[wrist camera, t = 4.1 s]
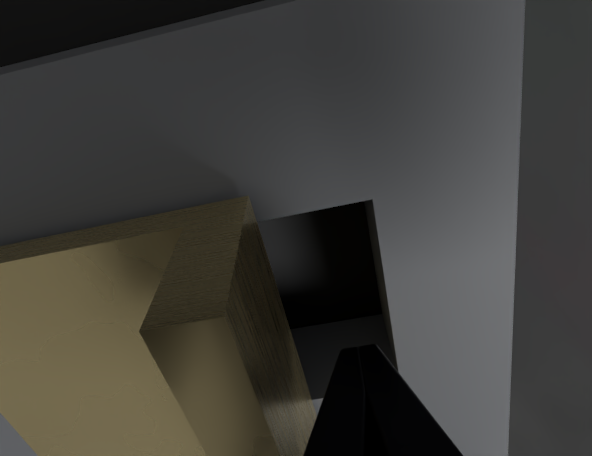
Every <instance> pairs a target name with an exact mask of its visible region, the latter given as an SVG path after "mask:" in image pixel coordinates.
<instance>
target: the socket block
mask: <svg viewBox="0 0 592 456" xmlns="http://www.w3.org/2000/svg"><path fill="white" fill-rule="evenodd" d="M524 20H525V0H264V1H260V2H256V3H252V4H248V5H244V6H240V7H236V8H232V9H228V10H224V11H221V12H217V13H213V14H209V15H205V16H201V17H197V18H193V19H189V20H185V21H181V22H177V23H173V24H169V25H165V26H161V27H157V28H153V29H150V30H146V31H142V32H138V33H134V34H130V35H126V36H122V37H118V38H114V39H110V40H106V41H102V42H98V43H94V44H90V45H86V46H82V47H79V48H75V49H71V50H67V51H63V52H59V53H55V54H51V55H47V56H43V57H39V58H35V59H31V60H27V61H23V62H19V63H15V64H11V65H8V66H4V67H0V246H4V245H9V244H14V243H19V242H24V241H28V240H33V239H38V238H43V237H48V236H53V235H58V234H63V233H68V232H72V231H77V230H82V229H87V228H92V227H97V226H102V225H107V224H111V223H116V222H121V221H126V220H131V219H136V218H141V217H146V216H151V215H155V214H160V213H165V212H170V211H175V210H180V209H185V208H190V207H195V206H199V205H204V204H209V203H214V202H219V201H224V200H229V199H234V198H238V197H243V196H248V195H249V198H250V202H251V205H252V208H253V211H254V215H255V218H256V221H257V222H260V221H265V220H270V219H275V218H280V217H285V216H290V215H295V214H301V213H306V212H311V211H316V210H321V209H326V208H331V207H336V206H341V205H346V204H351V203H356V202H361V201H364V205H365V211H366V217H367V223H368V230H369V236H370V242H371V248H372V254H373V260H374V267H375V273H376V279H377V285H378V291H379V298H380V304H381V310H382V314H379V315H373V316H367V317H361V318H355V319H349V320H343V321H337V322H331V323H325V324H319V325H313V326H307V327H302V328H296V329H290V331H291V334H292V337H293V340H294V344H295V347H296V350H297V353H298V357H299V360H300V363H301V366H302V369H303V373H304V376H305V379H306V382H307V386H308V389H309V392H310V395H311V399H312V402H313V405H314V408H315V411H316V415H318V412H319V409H320V406H321V403H322V400H323V398H324V395H325V392H326V389H327V386H328V383H329V381H330V378H331V375H332V372H333V369H334V366H335V364H336V361H337V358H338V355H339V352H340V351H341V350H342V349H344V348H350V347H359V346H363V345H369V344H376V345H377V346H378V347H379V348H380V349H381V351H382V352H383V353H384V354H385V356H386V357H387V358H388V360H389V361H390V362H391V363H392V365H393V366H394V367H395V368H396V370H397V371H398V372H399V374H400V375H401V376H402V377H403V379H404V380H405V381H406V383H407V384H408V385H409V386H410V388H411V389H412V390H413V392H414V393H415V394H416V395H417V397H418V398H419V399H420V401H421V402H422V403H423V404H424V406H425V407H426V408H427V410H428V411H429V412H430V413H431V415H432V416H433V417H434V418H435V420H436V421H437V422H438V424H439V425H440V426H441V427H442V429H443V430H444V431H445V433H446V434H447V435H448V436H449V438H450V439H451V440H452V442H453V443H454V444H455V445H456V447H457V448H458V449H459V451H460V452H461V453H462V454H463V456H508V438H509V412H510V386H511V359H512V333H513V307H514V281H515V255H516V229H517V203H518V176H519V150H520V124H521V98H522V72H523V46H524ZM0 456H38V455H37V454H36V453H35V452H34V451H33V450H32V448H31V447H30V446H29V445H28V444H27V443H26V442H25V440H24V439H23V438H22V437H21V436H20V435H19V434H18V432H17V431H16V430H15V429H14V428H13V427H12V426H11V424H10V423H9V422H8V421H7V420H6V419H5V418H4V416H3V415H2V414H1V413H0Z"/></svg>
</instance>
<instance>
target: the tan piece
mask: <svg viewBox="0 0 592 456" xmlns="http://www.w3.org/2000/svg"><path fill="white" fill-rule="evenodd" d="M0 413H1V414H2V415H3V416H4V418H5V419H6V420H7V421H8V422H9V423H10V424H11V426H12V427H13V428H14V429H15V430H16V431H17V432H18V434H19V435H20V436H21V437H22V438H23V439H24V440H25V442H26V443H27V444H28V445H29V446H30V447H31V448H32V450H33V451H34V452H35V453H36V454H37V455H38V456H303V454H304V451H305V449H306V446H307V443H308V440H309V437H310V434H311V432H312V429H313V426H314V423H315V420H316V417H317V415H316V411H315V408H314V405H313V402H312V399H311V395H310V392H309V389H308V386H307V382H306V379H305V376H304V373H303V369H302V366H301V363H300V360H299V357H298V353H297V350H296V347H295V344H294V340H293V337H292V334H291V331H290V328H289V324H288V321H287V318H286V315H285V311H284V308H283V305H282V302H281V298H280V295H279V292H278V289H277V286H276V282H275V279H274V276H273V273H272V269H271V266H270V263H269V260H268V257H267V253H266V250H265V247H264V244H263V240H262V237H261V234H260V231H259V227H258V224H257V221H256V218H255V215H254V211H253V208H252V205H251V202H250V198H249V195H248V196H243V197H238V198H234V199H229V200H224V201H219V202H214V203H209V204H204V205H199V206H195V207H190V208H185V209H180V210H175V211H170V212H165V213H160V214H155V215H151V216H146V217H141V218H136V219H131V220H126V221H121V222H116V223H111V224H107V225H102V226H97V227H92V228H87V229H82V230H77V231H72V232H68V233H63V234H58V235H53V236H48V237H43V238H38V239H33V240H28V241H24V242H19V243H14V244H9V245H4V246H0Z"/></svg>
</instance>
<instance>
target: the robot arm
mask: <svg viewBox="0 0 592 456" xmlns="http://www.w3.org/2000/svg"><path fill="white" fill-rule="evenodd" d="M303 456H463V454H462V453H461V452H460V451H459V449H458V448H457V447H456V445H455V444H454V443H453V442H452V440H451V439H450V438H449V436H448V435H447V434H446V433H445V431H444V430H443V429H442V427H441V426H440V425H439V424H438V422H437V421H436V420H435V418H434V417H433V416H432V415H431V413H430V412H429V411H428V410H427V408H426V407H425V406H424V404H423V403H422V402H421V401H420V399H419V398H418V397H417V395H416V394H415V393H414V392H413V390H412V389H411V388H410V386H409V385H408V384H407V383H406V381H405V380H404V379H403V377H402V376H401V375H400V374H399V372H398V371H397V370H396V368H395V367H394V366H393V365H392V363H391V362H390V361H389V360H388V358H387V357H386V356H385V354H384V353H383V352H382V351H381V349H380V348H379V347H378V346H377V345H376V344H369V345H363V346H359V347H350V348H344V349H342V350H341V351H340V352H339V355H338V358H337V361H336V364H335V366H334V369H333V372H332V375H331V378H330V381H329V383H328V386H327V389H326V392H325V395H324V398H323V400H322V403H321V406H320V409H319V412H318V415H317V417H316V420H315V423H314V426H313V429H312V432H311V434H310V437H309V440H308V443H307V446H306V449H305V451H304V454H303Z"/></svg>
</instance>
